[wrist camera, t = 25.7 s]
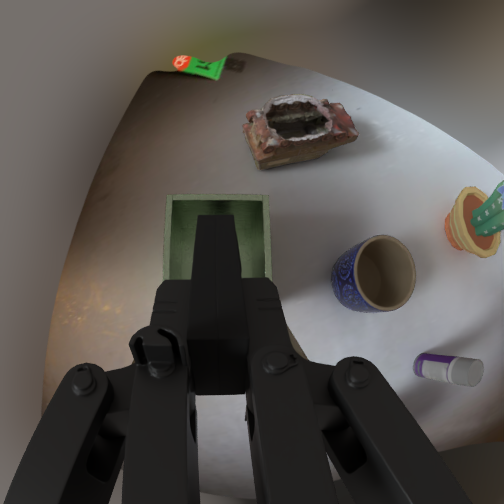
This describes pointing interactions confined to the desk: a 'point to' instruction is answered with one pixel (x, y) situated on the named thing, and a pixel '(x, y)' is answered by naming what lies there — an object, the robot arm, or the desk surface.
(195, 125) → the desk surface
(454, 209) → the potted cactus
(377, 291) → the planter
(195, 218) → the tin
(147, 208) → the desk surface
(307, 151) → the broken brick
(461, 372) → the container
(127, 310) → the desk surface
